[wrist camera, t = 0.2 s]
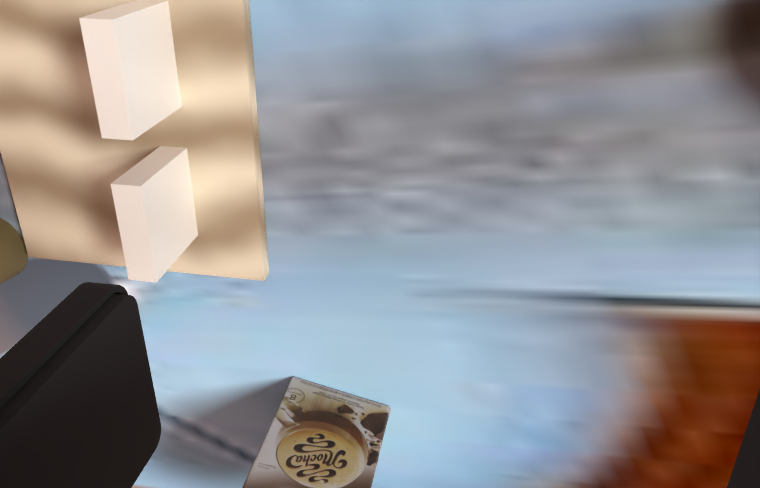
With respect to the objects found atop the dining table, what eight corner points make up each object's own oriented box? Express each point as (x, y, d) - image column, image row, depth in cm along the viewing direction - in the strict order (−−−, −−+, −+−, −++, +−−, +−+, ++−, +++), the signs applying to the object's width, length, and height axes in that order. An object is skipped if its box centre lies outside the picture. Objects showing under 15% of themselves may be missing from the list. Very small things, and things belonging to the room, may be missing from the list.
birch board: (-45, -67, 45) (-58, -66, 44) (244, -59, 42) (237, -57, 41) (37, 249, 56) (28, 256, 55) (269, 273, 54) (264, 280, 52)
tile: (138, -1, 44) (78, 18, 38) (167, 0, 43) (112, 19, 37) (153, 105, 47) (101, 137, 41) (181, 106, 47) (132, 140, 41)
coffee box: (392, 403, 58) (355, 571, 44) (375, 455, 61) (335, 627, 47) (290, 372, 58) (221, 529, 44) (278, 425, 61) (210, 587, 47)
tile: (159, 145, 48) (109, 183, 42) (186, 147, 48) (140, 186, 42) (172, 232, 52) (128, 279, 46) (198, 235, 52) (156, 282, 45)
